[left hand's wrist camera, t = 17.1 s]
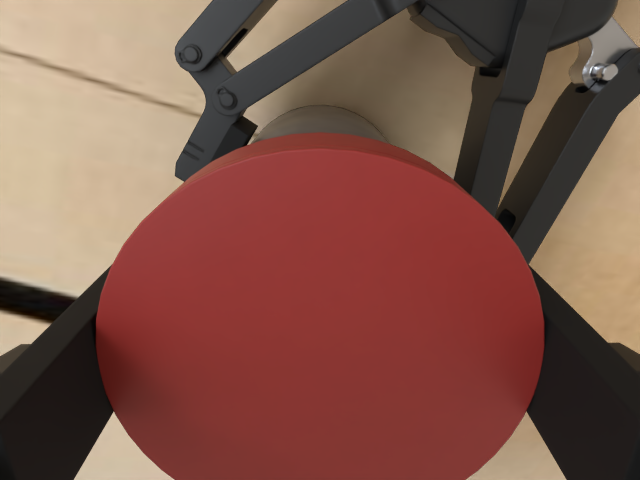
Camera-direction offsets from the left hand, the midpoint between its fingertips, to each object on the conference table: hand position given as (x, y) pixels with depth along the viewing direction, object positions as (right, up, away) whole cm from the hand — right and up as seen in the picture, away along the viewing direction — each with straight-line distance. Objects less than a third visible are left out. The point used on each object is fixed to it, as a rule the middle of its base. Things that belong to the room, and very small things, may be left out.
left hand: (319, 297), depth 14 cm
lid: (0, -1, -3) cm, 3 cm away
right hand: (-2, -1, +7) cm, 8 cm away
